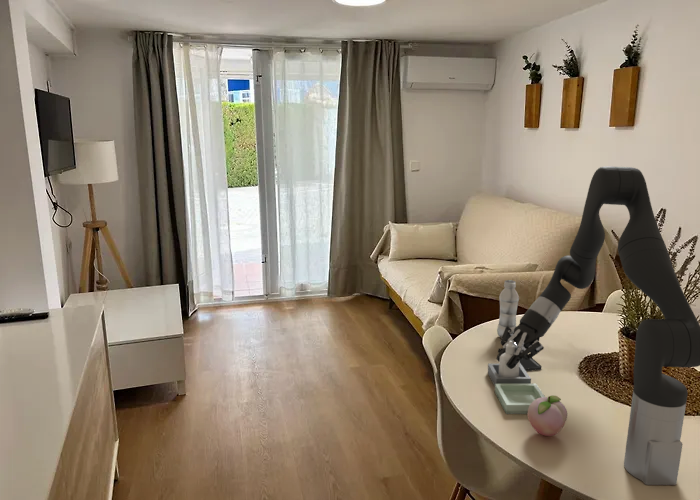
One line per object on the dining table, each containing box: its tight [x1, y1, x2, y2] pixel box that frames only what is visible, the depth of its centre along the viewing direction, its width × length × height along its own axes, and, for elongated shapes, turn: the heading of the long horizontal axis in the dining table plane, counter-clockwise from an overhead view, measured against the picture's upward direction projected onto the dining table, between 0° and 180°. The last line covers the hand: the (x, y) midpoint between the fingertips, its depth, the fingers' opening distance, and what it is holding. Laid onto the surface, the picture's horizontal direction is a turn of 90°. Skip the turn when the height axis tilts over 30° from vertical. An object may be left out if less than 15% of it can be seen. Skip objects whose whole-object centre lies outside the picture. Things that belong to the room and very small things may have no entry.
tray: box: [494, 383, 546, 415], centre depth 134 cm, size 11×11×2 cm
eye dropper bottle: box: [498, 341, 520, 377], centre depth 145 cm, size 4×6×12 cm
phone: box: [497, 347, 542, 372], centre depth 159 cm, size 8×1×15 cm
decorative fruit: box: [527, 395, 568, 437], centre depth 119 cm, size 9×8×10 cm
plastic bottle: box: [496, 279, 520, 339], centre depth 174 cm, size 6×7×20 cm
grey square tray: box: [487, 363, 532, 387], centre depth 146 cm, size 9×9×3 cm
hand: (503, 363), depth 144 cm, fingers closed on eye dropper bottle, 3 cm apart
